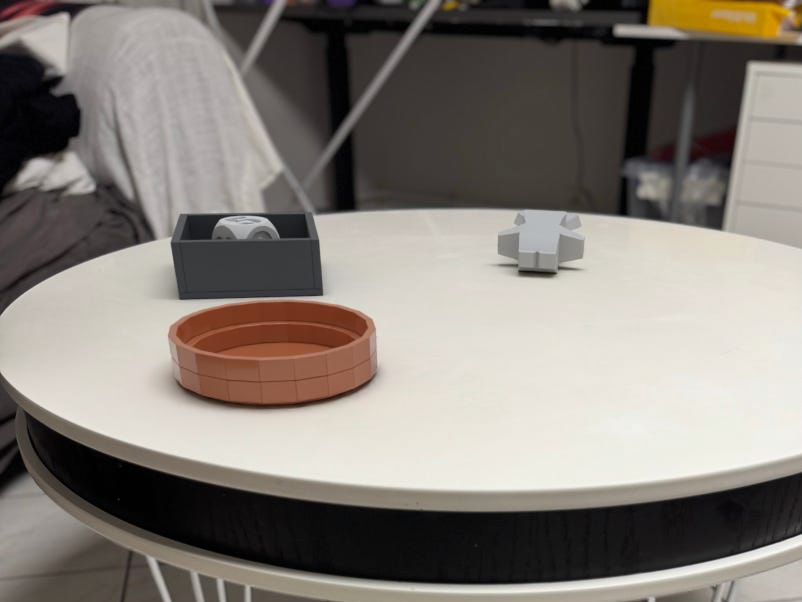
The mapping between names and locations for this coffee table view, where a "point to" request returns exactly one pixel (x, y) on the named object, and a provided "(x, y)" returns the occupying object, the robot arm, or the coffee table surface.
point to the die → (244, 228)
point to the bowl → (273, 351)
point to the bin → (247, 258)
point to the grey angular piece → (542, 240)
